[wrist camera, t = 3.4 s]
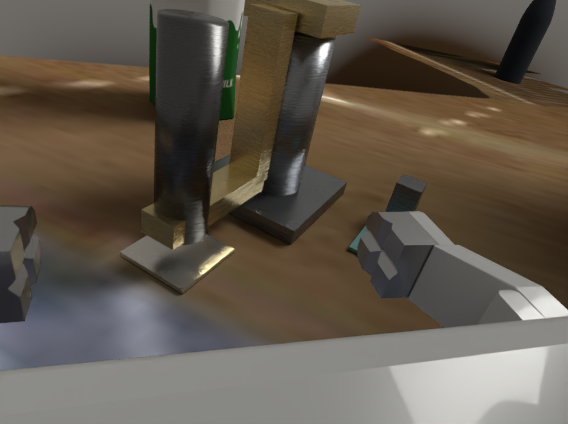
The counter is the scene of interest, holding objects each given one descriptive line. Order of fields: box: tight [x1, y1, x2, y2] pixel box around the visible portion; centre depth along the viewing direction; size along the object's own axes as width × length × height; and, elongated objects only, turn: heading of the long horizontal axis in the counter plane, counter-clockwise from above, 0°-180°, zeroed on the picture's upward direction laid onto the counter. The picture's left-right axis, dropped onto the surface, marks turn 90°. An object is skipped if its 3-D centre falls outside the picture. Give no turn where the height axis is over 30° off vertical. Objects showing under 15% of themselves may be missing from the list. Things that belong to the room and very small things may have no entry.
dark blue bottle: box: [495, 0, 556, 83], centre depth 97 cm, size 6×6×30 cm
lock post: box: [120, 31, 427, 294], centre depth 26 cm, size 18×18×13 cm
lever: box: [141, 0, 361, 250], centre depth 26 cm, size 16×6×13 cm, turn 150°
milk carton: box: [149, 0, 245, 120], centre depth 41 cm, size 9×9×20 cm
